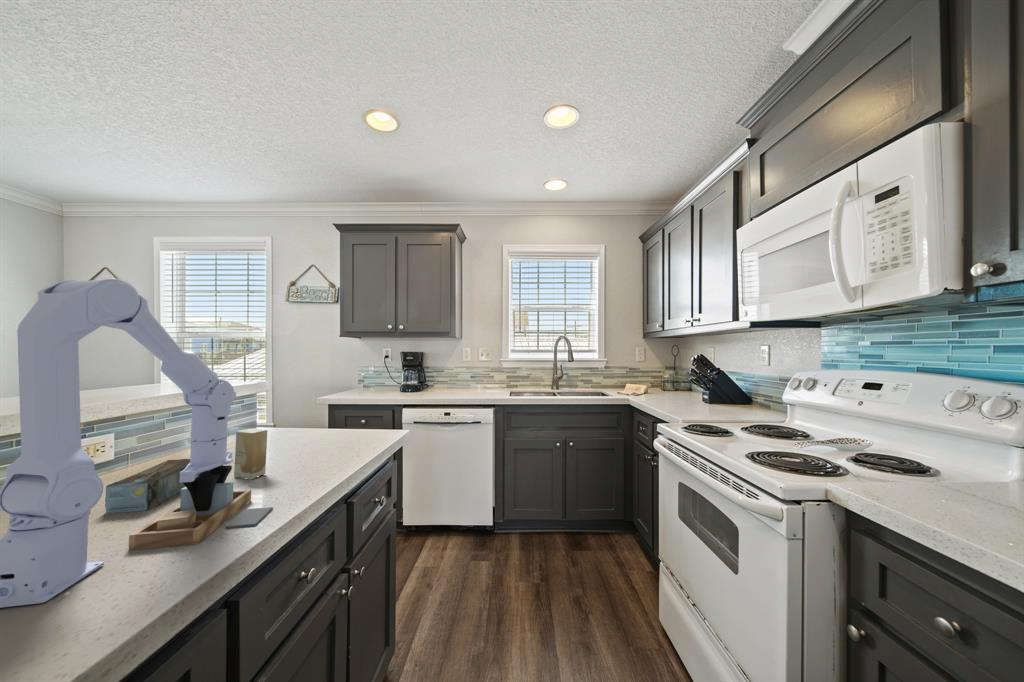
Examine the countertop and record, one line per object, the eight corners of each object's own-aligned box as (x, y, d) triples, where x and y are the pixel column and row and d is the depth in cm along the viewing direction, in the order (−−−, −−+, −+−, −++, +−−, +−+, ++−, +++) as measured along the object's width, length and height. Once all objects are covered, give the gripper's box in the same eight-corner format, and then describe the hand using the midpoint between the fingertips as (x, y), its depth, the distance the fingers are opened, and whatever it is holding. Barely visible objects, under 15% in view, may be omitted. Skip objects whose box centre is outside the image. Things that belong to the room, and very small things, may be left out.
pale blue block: (226, 516, 75) (227, 486, 76) (179, 520, 74) (180, 489, 74) (232, 511, 78) (233, 482, 78) (187, 515, 76) (188, 485, 76)
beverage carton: (101, 515, 77) (102, 482, 77) (167, 483, 95) (168, 457, 96) (146, 512, 78) (148, 479, 78) (203, 481, 97) (204, 456, 97)
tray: (198, 543, 65) (198, 529, 65) (128, 550, 62) (129, 535, 63) (250, 500, 84) (251, 489, 84) (198, 504, 81) (199, 493, 82)
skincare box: (233, 477, 99) (234, 431, 100) (248, 472, 103) (250, 428, 104) (251, 480, 97) (252, 432, 98) (266, 475, 102) (268, 429, 102)
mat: (255, 525, 71) (255, 523, 71) (225, 528, 70) (225, 526, 70) (272, 509, 79) (272, 507, 79) (245, 511, 78) (245, 509, 78)
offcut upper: (187, 528, 66) (187, 517, 66) (156, 532, 65) (157, 520, 65) (195, 520, 70) (195, 509, 70) (166, 524, 68) (167, 513, 68)
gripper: (211, 446, 70) (209, 520, 70) (248, 431, 84) (246, 492, 84) (167, 448, 69) (164, 524, 68) (212, 432, 83) (210, 495, 82)
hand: (207, 507), depth 76 cm, fingers closed on pale blue block, 2 cm apart
